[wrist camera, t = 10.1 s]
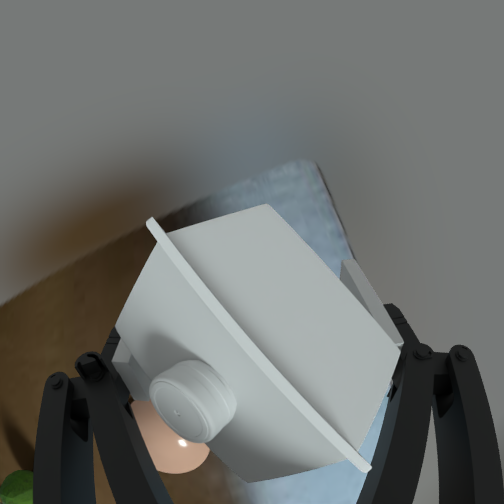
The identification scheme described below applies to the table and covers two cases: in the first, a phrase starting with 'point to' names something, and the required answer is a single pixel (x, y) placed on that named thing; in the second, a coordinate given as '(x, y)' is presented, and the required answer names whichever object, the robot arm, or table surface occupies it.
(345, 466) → the table surface
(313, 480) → the table surface
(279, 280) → the milk carton
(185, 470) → the peach flat disc
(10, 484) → the avocado
